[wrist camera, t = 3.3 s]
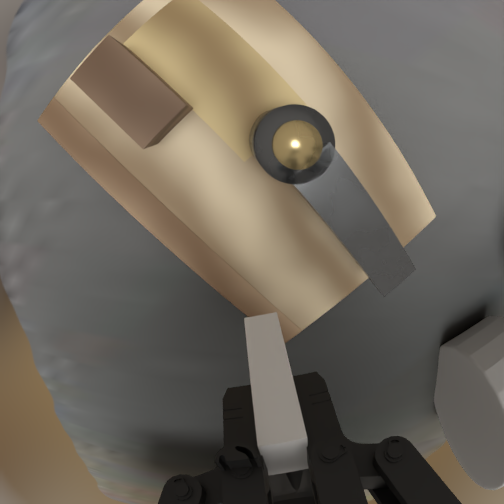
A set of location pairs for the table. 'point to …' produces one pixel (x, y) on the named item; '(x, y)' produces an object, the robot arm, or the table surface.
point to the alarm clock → (474, 400)
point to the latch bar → (329, 189)
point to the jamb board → (228, 148)
